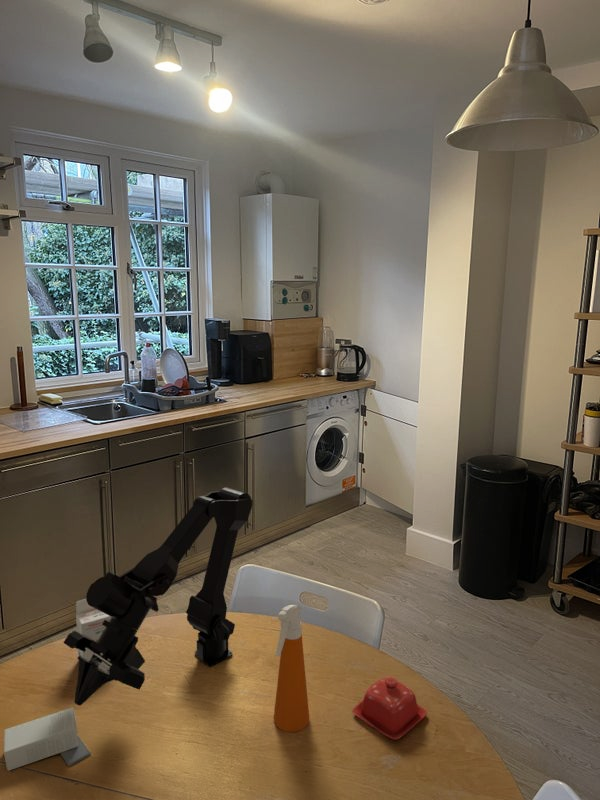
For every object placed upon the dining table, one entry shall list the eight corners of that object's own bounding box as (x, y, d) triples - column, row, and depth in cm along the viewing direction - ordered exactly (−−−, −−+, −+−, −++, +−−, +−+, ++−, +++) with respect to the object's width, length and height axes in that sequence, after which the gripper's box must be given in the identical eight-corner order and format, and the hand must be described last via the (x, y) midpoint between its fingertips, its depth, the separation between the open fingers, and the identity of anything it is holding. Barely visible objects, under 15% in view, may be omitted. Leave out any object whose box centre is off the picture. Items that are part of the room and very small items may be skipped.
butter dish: (383, 689, 128) (385, 654, 126) (429, 717, 120) (432, 680, 118) (348, 716, 120) (349, 679, 118) (395, 748, 112) (397, 709, 110)
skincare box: (77, 724, 116) (8, 748, 111) (73, 705, 114) (3, 728, 110) (79, 747, 110) (7, 773, 106) (75, 727, 109) (2, 752, 104)
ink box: (84, 672, 132) (79, 611, 129) (78, 660, 136) (74, 601, 133) (122, 659, 136) (119, 600, 133) (115, 647, 141) (112, 590, 137)
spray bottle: (259, 740, 113) (259, 614, 108) (282, 703, 123) (282, 586, 118) (294, 751, 111) (295, 623, 105) (314, 712, 120) (316, 593, 115)
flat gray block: (74, 733, 114) (74, 731, 114) (90, 754, 109) (90, 752, 109) (53, 744, 112) (53, 742, 112) (68, 766, 107) (68, 764, 107)
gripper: (180, 654, 116) (135, 736, 110) (121, 619, 127) (78, 693, 121) (145, 637, 108) (95, 724, 102) (86, 601, 120) (38, 679, 113)
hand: (77, 704), depth 110 cm, fingers closed
